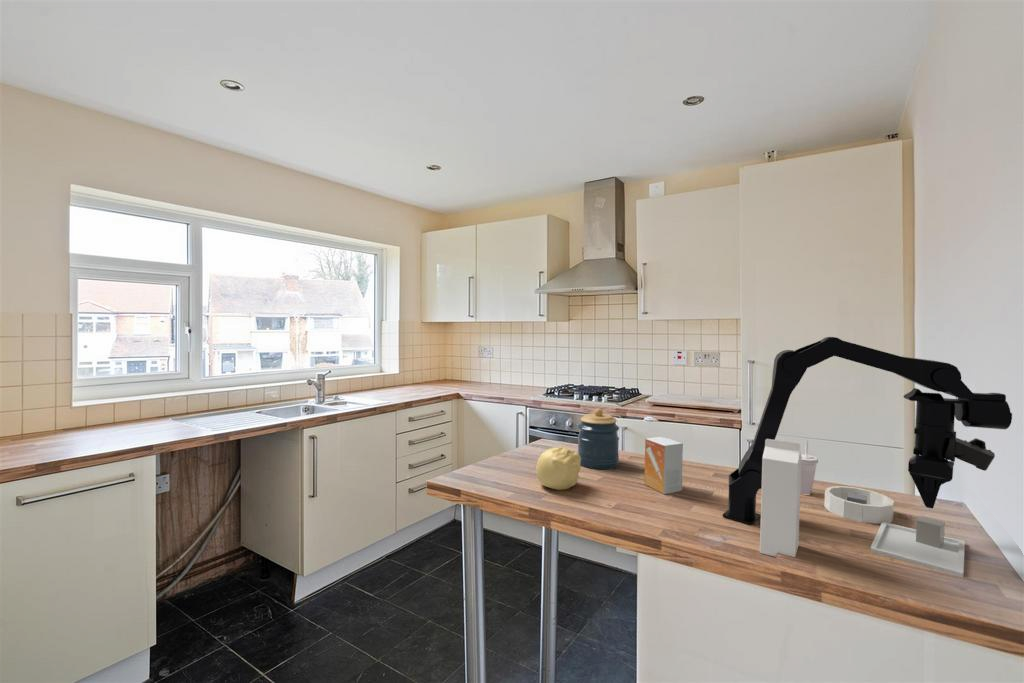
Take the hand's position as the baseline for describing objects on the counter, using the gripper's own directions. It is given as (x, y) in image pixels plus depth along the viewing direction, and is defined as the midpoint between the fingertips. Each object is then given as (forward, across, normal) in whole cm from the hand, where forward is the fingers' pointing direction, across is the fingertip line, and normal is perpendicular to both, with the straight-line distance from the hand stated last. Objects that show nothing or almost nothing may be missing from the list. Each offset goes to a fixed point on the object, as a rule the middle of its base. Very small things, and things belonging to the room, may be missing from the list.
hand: (930, 501), depth 94 cm
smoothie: (+10, +16, +26) cm, 32 cm away
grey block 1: (+9, +7, +13) cm, 17 cm away
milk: (+10, -24, +21) cm, 33 cm away
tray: (+9, -4, +1) cm, 11 cm away
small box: (+10, -6, +54) cm, 55 cm away
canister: (+10, 0, +79) cm, 80 cm away
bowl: (+9, +8, +13) cm, 18 cm away
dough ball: (+10, -26, +75) cm, 80 cm away
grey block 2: (+8, 0, 0) cm, 8 cm away
